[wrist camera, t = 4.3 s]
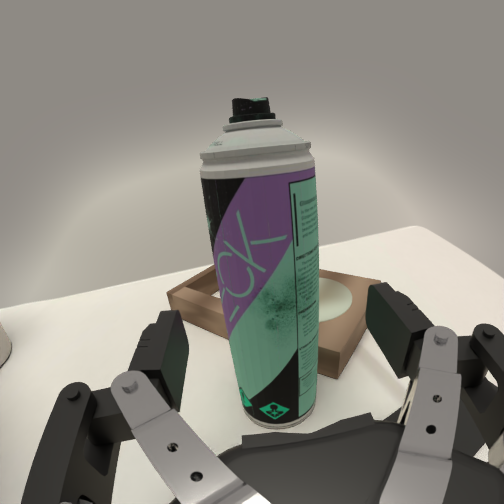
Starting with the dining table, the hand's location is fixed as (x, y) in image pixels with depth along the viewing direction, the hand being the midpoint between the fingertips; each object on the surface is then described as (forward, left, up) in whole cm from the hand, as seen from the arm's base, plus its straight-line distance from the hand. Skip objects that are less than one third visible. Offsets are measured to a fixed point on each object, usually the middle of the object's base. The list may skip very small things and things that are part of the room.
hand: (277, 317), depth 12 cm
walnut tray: (-10, +13, -11) cm, 20 cm away
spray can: (-3, +3, -11) cm, 12 cm away
